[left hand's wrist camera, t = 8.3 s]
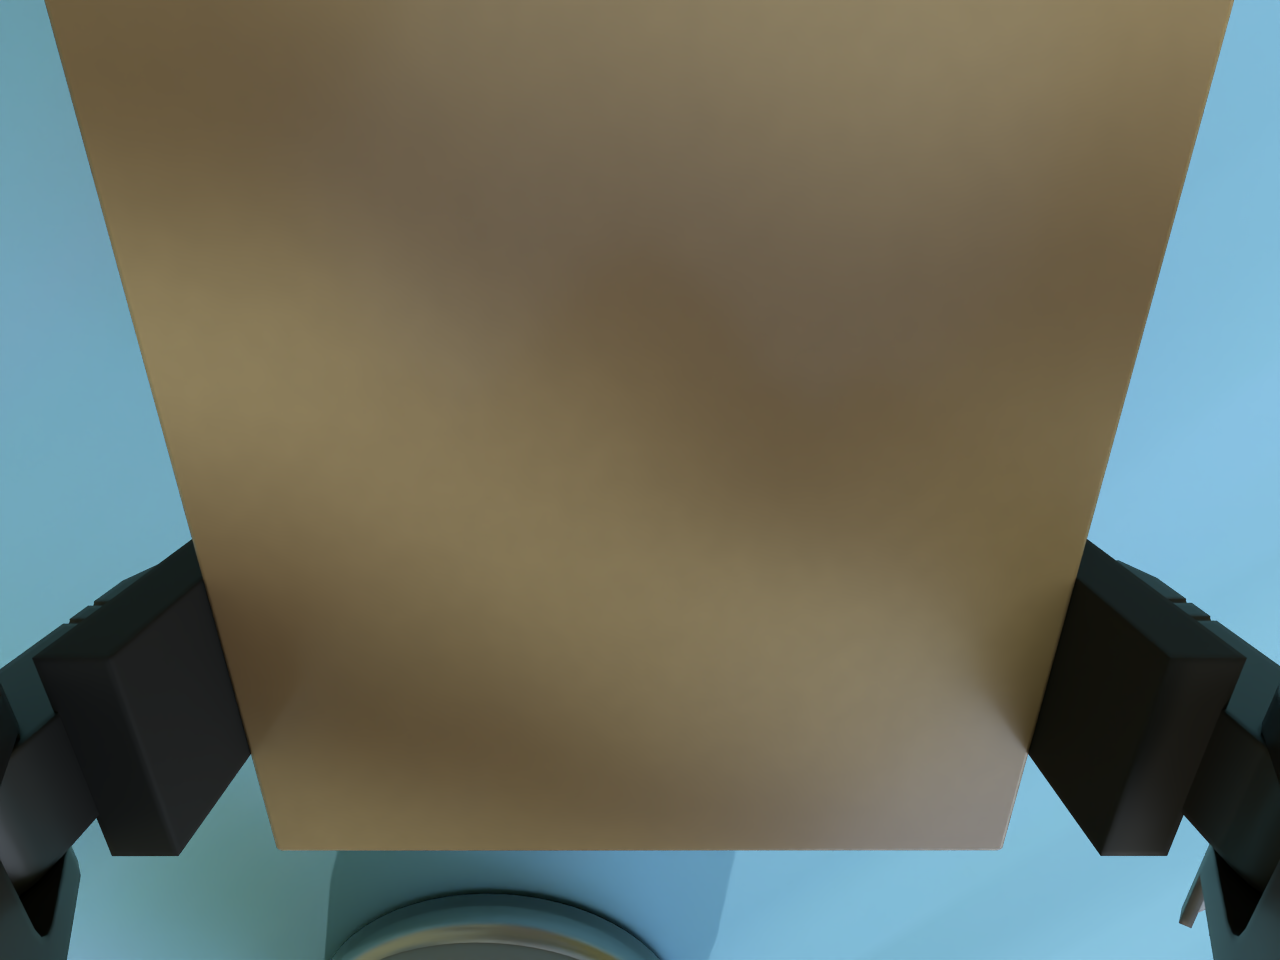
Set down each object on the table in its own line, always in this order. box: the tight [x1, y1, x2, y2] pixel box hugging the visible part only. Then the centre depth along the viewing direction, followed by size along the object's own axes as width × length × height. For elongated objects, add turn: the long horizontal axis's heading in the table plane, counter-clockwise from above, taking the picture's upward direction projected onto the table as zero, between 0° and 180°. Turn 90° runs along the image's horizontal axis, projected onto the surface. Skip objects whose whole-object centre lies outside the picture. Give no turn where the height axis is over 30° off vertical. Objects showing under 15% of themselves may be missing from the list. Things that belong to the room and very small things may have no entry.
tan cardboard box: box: [45, 0, 1234, 850], centre depth 12 cm, size 18×10×11 cm, turn 0°
